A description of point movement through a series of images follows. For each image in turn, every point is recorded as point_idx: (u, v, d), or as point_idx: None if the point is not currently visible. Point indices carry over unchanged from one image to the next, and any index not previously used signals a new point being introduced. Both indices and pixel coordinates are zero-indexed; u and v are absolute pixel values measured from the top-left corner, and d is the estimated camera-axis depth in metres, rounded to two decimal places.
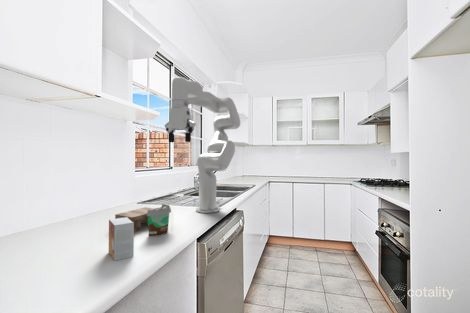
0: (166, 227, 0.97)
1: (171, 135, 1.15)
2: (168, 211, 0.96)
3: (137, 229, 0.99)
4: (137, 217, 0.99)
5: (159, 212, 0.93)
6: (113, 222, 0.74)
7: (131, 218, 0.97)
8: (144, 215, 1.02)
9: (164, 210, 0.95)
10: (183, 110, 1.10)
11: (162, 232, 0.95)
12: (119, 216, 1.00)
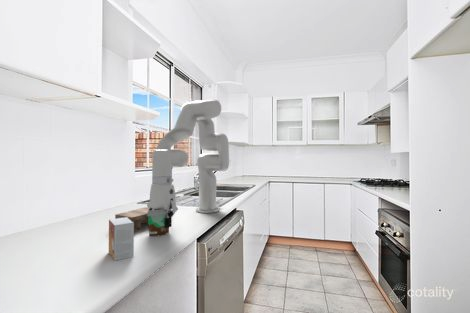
0: None
1: None
2: (169, 211, 0.96)
3: (137, 229, 0.99)
4: (137, 217, 0.99)
5: (159, 212, 0.93)
6: (113, 222, 0.74)
7: (131, 218, 0.97)
8: (144, 215, 1.02)
9: (164, 210, 0.94)
10: (165, 189, 0.94)
11: (163, 232, 0.95)
12: (119, 216, 1.00)
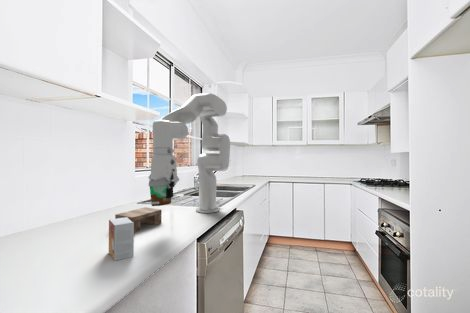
0: (169, 198, 0.97)
1: None
2: (170, 182, 0.96)
3: (137, 229, 0.99)
4: (137, 217, 0.99)
5: (161, 182, 0.93)
6: (113, 222, 0.74)
7: (131, 218, 0.97)
8: (144, 215, 1.02)
9: None
10: (166, 160, 0.94)
11: (165, 202, 0.95)
12: (119, 216, 1.00)
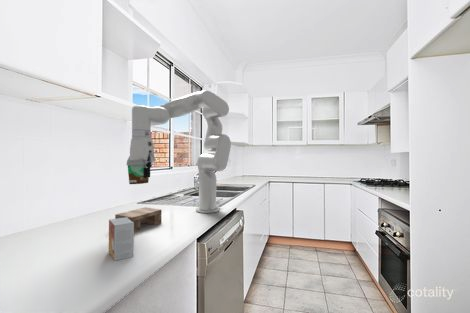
0: None
1: None
2: (147, 162, 1.04)
3: (137, 229, 0.99)
4: (137, 217, 0.99)
5: (138, 162, 1.01)
6: (113, 222, 0.74)
7: (131, 218, 0.97)
8: (144, 215, 1.02)
9: (143, 161, 1.02)
10: (144, 141, 1.02)
11: (142, 181, 1.02)
12: (119, 216, 1.00)
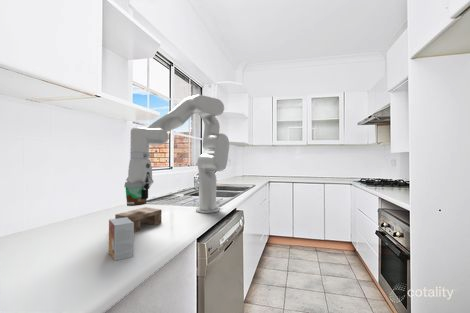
0: (144, 199, 1.05)
1: None
2: (145, 184, 1.04)
3: (137, 229, 0.99)
4: (137, 217, 0.99)
5: (136, 184, 1.01)
6: (113, 222, 0.74)
7: (131, 218, 0.97)
8: (144, 215, 1.02)
9: None
10: (142, 163, 1.02)
11: (139, 203, 1.03)
12: (119, 216, 1.00)
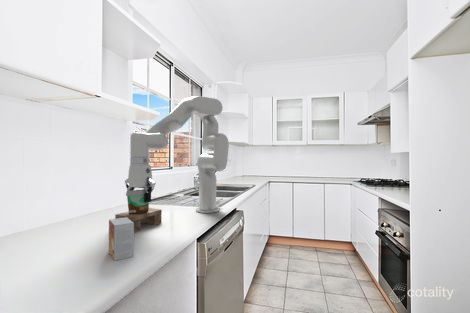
0: (145, 207, 1.05)
1: None
2: None
3: (137, 229, 0.99)
4: (137, 217, 0.99)
5: (137, 192, 1.01)
6: (113, 222, 0.74)
7: (131, 218, 0.97)
8: (144, 215, 1.02)
9: (142, 191, 1.03)
10: (142, 169, 1.02)
11: (141, 211, 1.03)
12: (119, 216, 1.00)
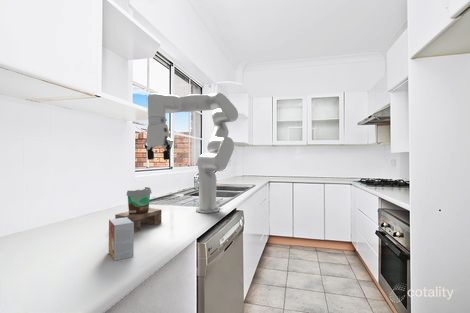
0: (146, 207, 1.04)
1: (150, 152, 1.13)
2: (147, 192, 1.04)
3: (137, 229, 0.99)
4: (137, 217, 0.99)
5: (138, 192, 1.01)
6: (113, 222, 0.74)
7: (131, 218, 0.97)
8: (144, 215, 1.02)
9: (143, 191, 1.02)
10: (160, 127, 1.07)
11: (141, 211, 1.03)
12: (119, 216, 1.00)
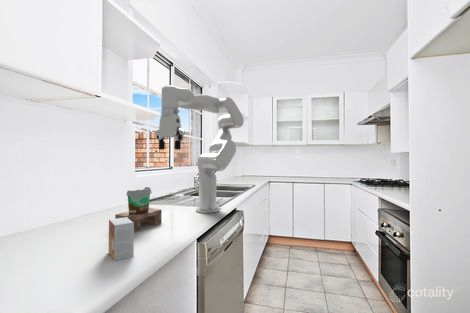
0: (146, 207, 1.04)
1: (161, 142, 1.17)
2: (147, 192, 1.04)
3: (137, 229, 0.99)
4: (137, 217, 0.99)
5: (138, 192, 1.01)
6: (113, 222, 0.74)
7: (131, 218, 0.97)
8: (144, 215, 1.02)
9: (143, 191, 1.02)
10: (173, 118, 1.11)
11: (141, 211, 1.03)
12: (119, 216, 1.00)
